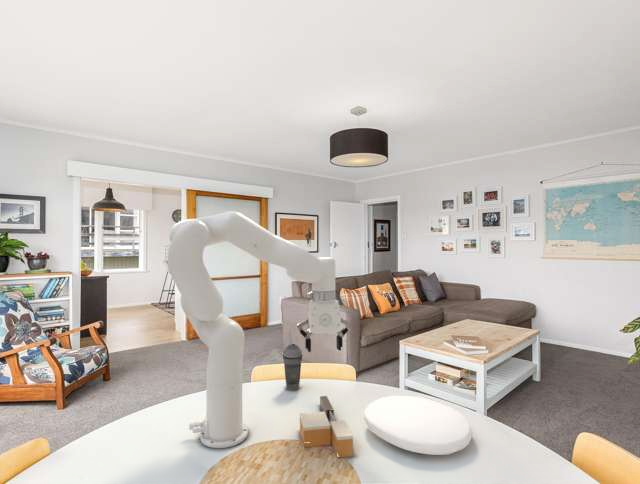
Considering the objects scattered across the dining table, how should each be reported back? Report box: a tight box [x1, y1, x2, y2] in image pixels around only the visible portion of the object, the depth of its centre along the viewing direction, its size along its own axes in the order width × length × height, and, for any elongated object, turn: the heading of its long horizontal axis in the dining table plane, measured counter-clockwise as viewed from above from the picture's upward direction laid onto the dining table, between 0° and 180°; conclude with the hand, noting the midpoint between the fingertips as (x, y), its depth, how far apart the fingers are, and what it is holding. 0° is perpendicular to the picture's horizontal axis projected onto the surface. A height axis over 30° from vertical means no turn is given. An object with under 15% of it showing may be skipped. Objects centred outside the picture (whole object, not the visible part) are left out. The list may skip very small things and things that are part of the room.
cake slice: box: [329, 420, 354, 458], centre depth 94 cm, size 4×8×5 cm, turn 9°
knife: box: [319, 395, 336, 423], centre depth 109 cm, size 2×19×3 cm, turn 9°
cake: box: [299, 411, 332, 448], centre depth 99 cm, size 7×8×5 cm
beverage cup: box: [282, 331, 304, 391], centre depth 133 cm, size 7×7×20 cm
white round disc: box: [363, 395, 473, 456], centre depth 101 cm, size 28×6×27 cm
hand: (323, 350), depth 117 cm, fingers open, 9 cm apart
